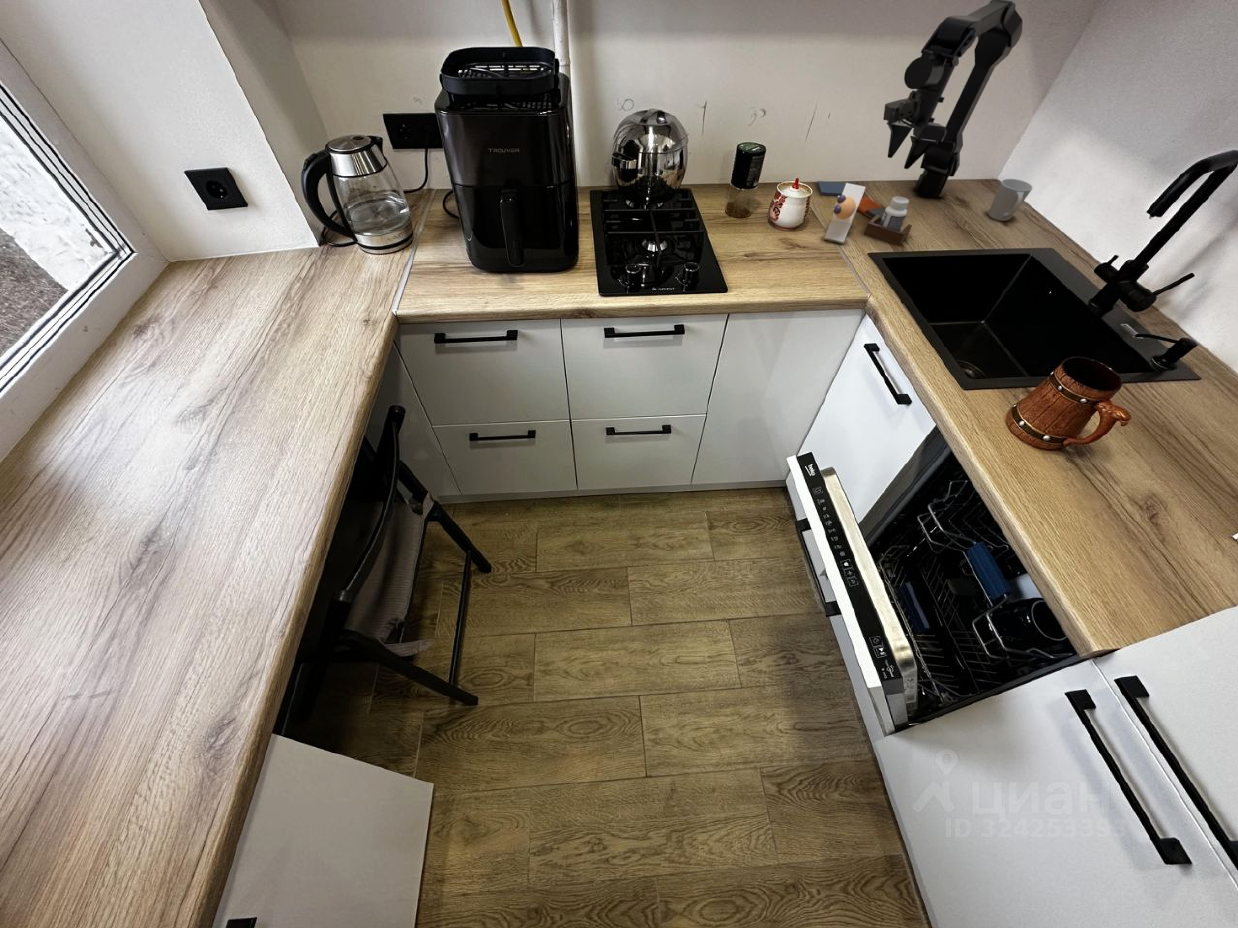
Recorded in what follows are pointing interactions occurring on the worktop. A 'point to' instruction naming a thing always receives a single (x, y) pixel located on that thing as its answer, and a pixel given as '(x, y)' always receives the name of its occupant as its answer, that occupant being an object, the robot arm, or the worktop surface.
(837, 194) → the seat mat
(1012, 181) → the cup
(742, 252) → the worktop surface
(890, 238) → the brown wooden tray
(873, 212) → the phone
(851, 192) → the white dotted panel
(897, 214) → the pill bottle
